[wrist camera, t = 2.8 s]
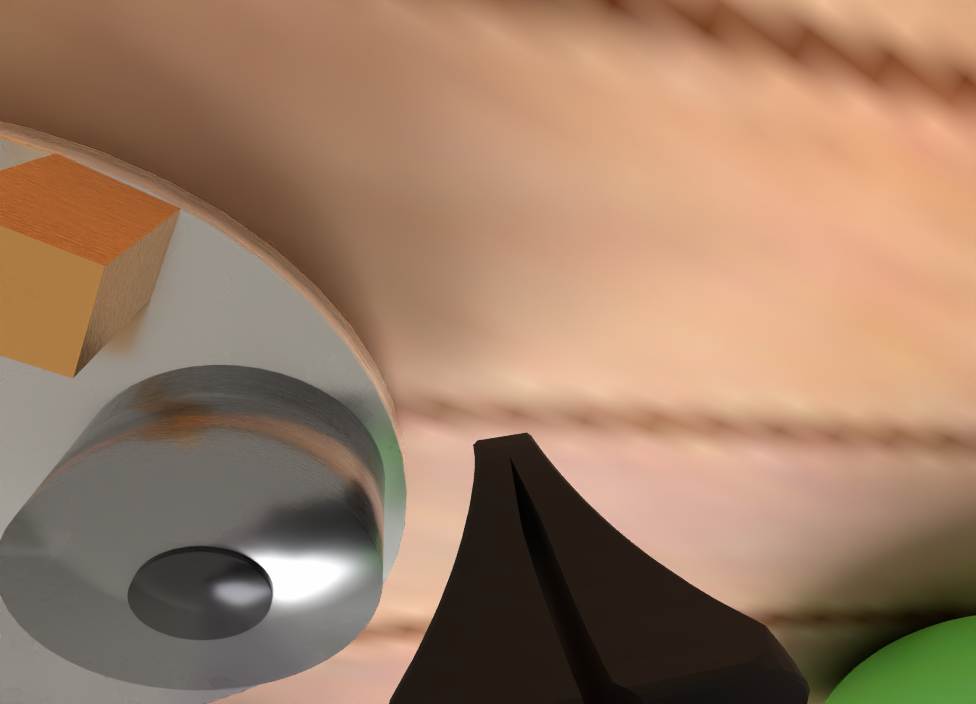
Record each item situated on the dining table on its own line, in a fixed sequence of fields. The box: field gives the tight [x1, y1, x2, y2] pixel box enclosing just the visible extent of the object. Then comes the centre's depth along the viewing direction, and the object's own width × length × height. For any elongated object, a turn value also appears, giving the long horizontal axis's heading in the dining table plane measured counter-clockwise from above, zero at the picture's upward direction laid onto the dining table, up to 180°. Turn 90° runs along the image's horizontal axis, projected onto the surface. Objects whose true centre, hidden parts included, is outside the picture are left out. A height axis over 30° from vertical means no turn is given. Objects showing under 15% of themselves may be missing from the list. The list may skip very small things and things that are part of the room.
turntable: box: [0, 121, 407, 704], centre depth 12 cm, size 18×18×4 cm
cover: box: [0, 365, 385, 690], centre depth 12 cm, size 7×7×3 cm
